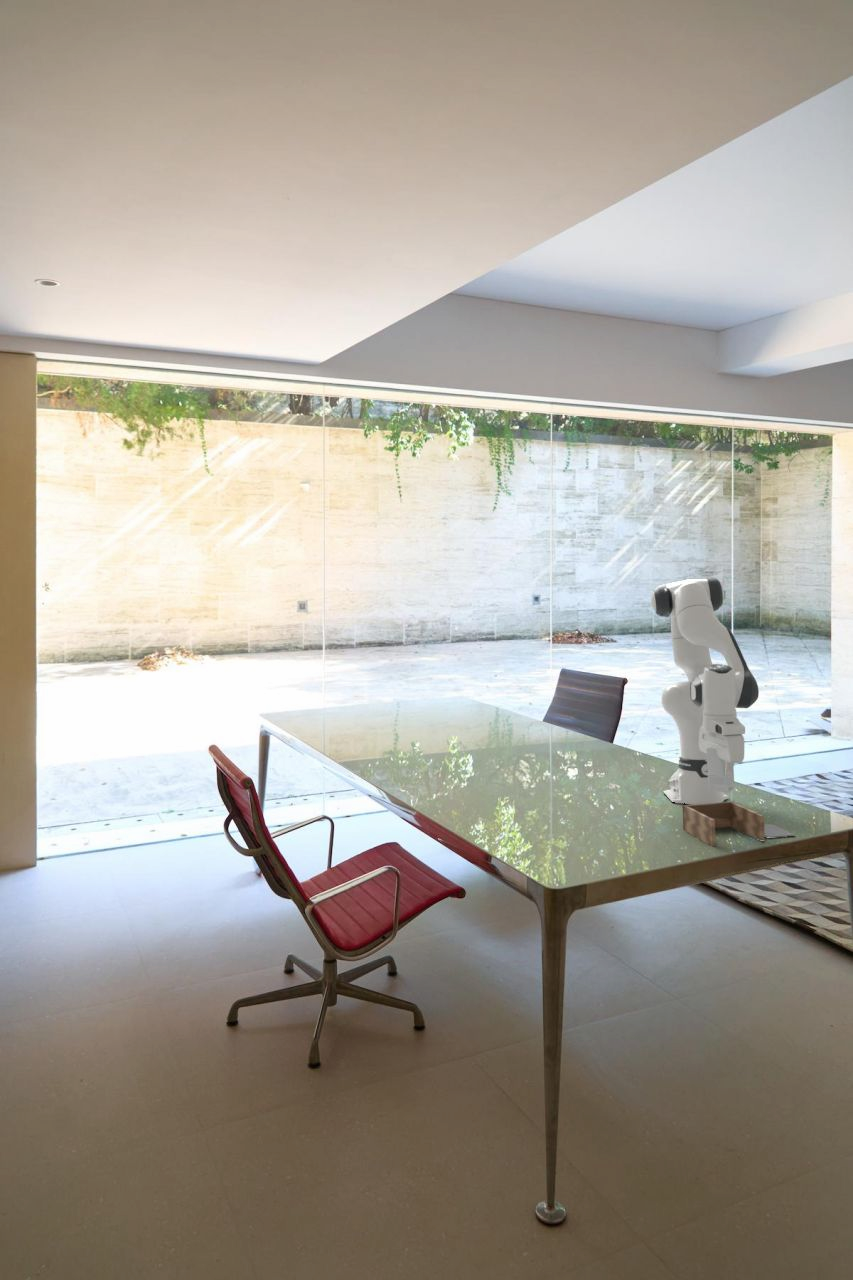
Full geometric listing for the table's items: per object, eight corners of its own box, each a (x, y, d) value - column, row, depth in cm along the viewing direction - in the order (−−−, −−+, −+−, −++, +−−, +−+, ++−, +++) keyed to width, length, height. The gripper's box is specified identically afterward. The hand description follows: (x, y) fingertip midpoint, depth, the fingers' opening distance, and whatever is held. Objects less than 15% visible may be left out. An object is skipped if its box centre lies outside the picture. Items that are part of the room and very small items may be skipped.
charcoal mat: (746, 828, 264) (746, 826, 264) (772, 826, 265) (772, 824, 265) (767, 838, 252) (767, 837, 252) (795, 836, 253) (795, 834, 253)
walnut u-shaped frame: (683, 829, 265) (682, 805, 265) (732, 825, 267) (732, 801, 267) (712, 846, 247) (711, 820, 247) (764, 841, 249) (763, 815, 249)
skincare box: (735, 790, 256) (734, 746, 256) (727, 793, 253) (727, 749, 252) (714, 787, 261) (713, 744, 260) (706, 790, 257) (705, 747, 257)
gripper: (692, 719, 266) (693, 766, 266) (726, 730, 245) (727, 781, 246) (713, 717, 266) (714, 765, 267) (748, 728, 246) (749, 780, 247)
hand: (720, 773), depth 257 cm, fingers closed on skincare box, 7 cm apart
